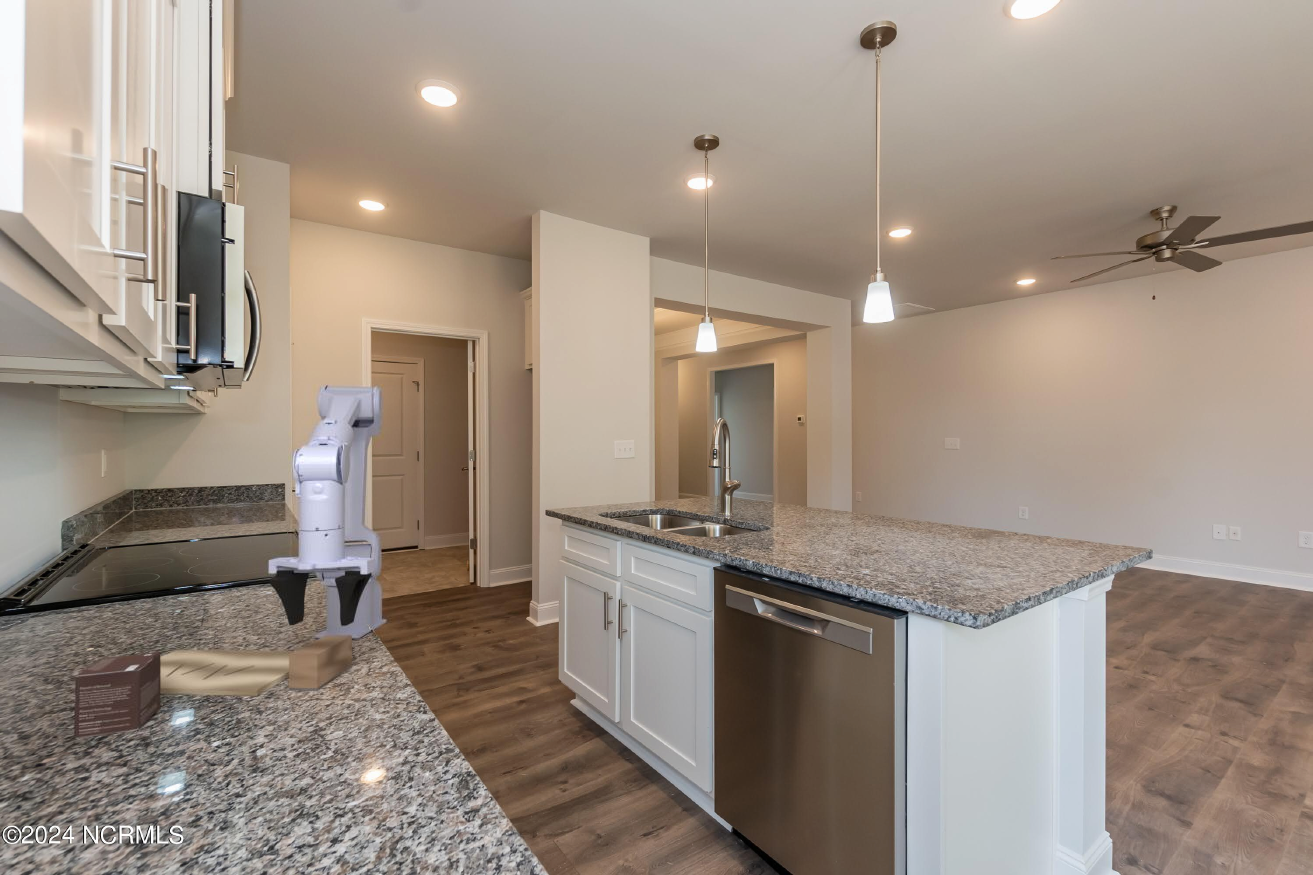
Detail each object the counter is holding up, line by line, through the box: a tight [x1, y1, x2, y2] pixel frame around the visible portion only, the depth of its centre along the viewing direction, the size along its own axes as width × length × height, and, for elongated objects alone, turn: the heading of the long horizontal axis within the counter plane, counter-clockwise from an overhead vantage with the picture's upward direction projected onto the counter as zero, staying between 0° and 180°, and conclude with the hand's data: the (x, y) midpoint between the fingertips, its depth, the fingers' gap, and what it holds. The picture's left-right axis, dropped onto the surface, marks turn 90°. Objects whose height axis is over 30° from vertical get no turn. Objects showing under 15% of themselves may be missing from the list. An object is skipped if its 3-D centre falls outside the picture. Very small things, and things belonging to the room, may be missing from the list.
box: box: [73, 651, 162, 740], centre depth 70 cm, size 6×6×7 cm
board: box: [160, 649, 296, 697], centre depth 85 cm, size 14×24×1 cm, turn 87°
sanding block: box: [288, 635, 353, 692], centre depth 83 cm, size 8×4×5 cm, turn 177°
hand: (321, 623), depth 83 cm, fingers open, 7 cm apart
